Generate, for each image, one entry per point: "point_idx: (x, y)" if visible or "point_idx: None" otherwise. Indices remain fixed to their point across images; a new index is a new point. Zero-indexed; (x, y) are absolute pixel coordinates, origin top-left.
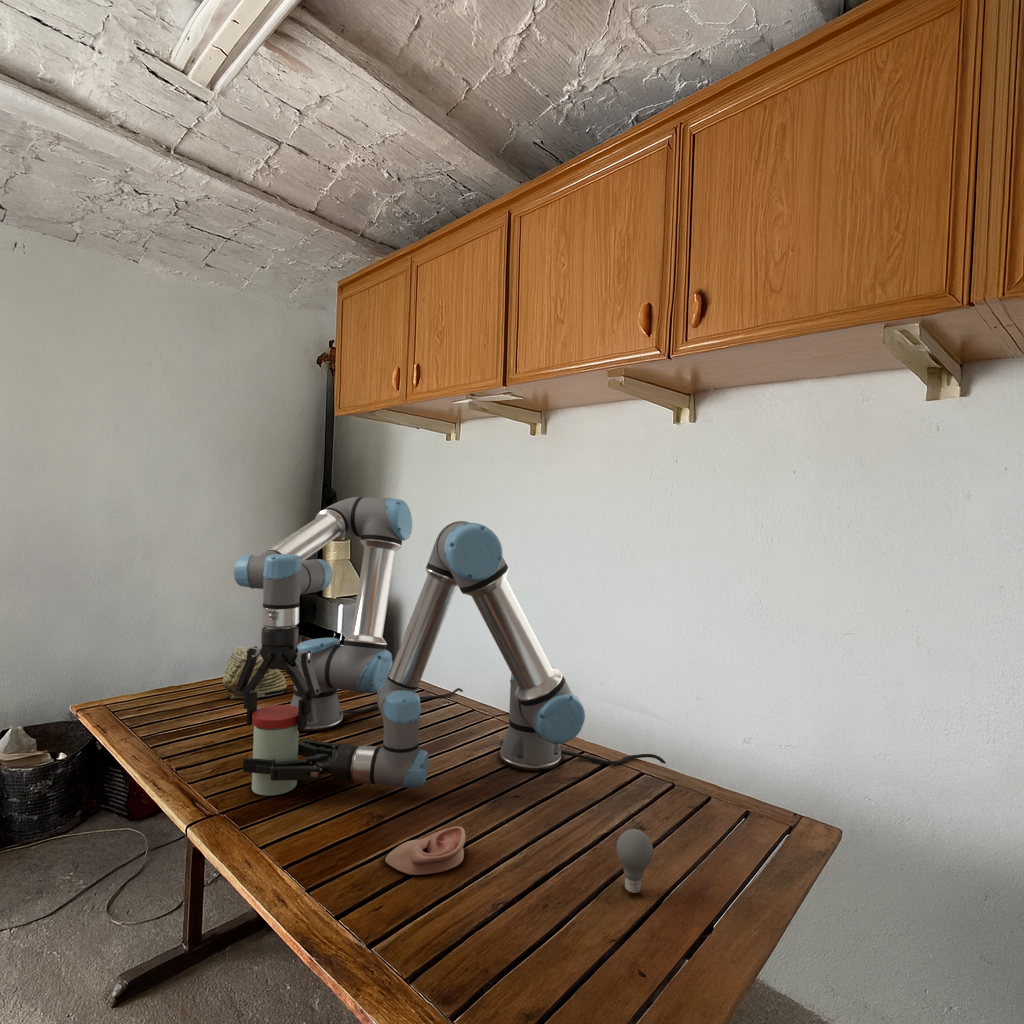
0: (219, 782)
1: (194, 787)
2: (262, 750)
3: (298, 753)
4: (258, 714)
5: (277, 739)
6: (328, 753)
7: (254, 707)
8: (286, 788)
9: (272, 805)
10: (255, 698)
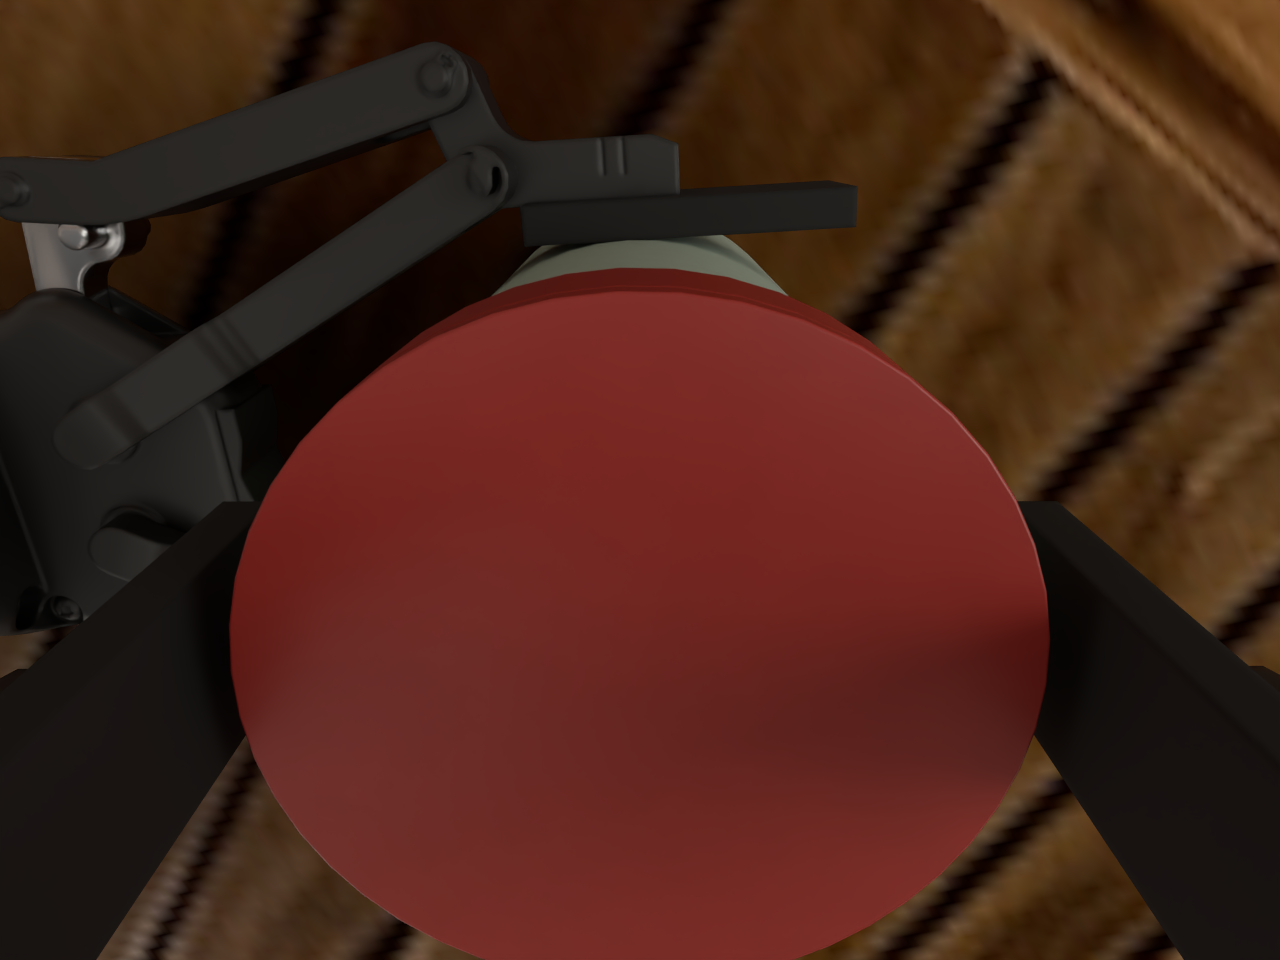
0: (1051, 329)
1: (1201, 210)
2: (670, 252)
3: None
4: (908, 531)
5: None
6: (118, 517)
7: (1102, 748)
8: None
9: (488, 75)
10: (1193, 896)
